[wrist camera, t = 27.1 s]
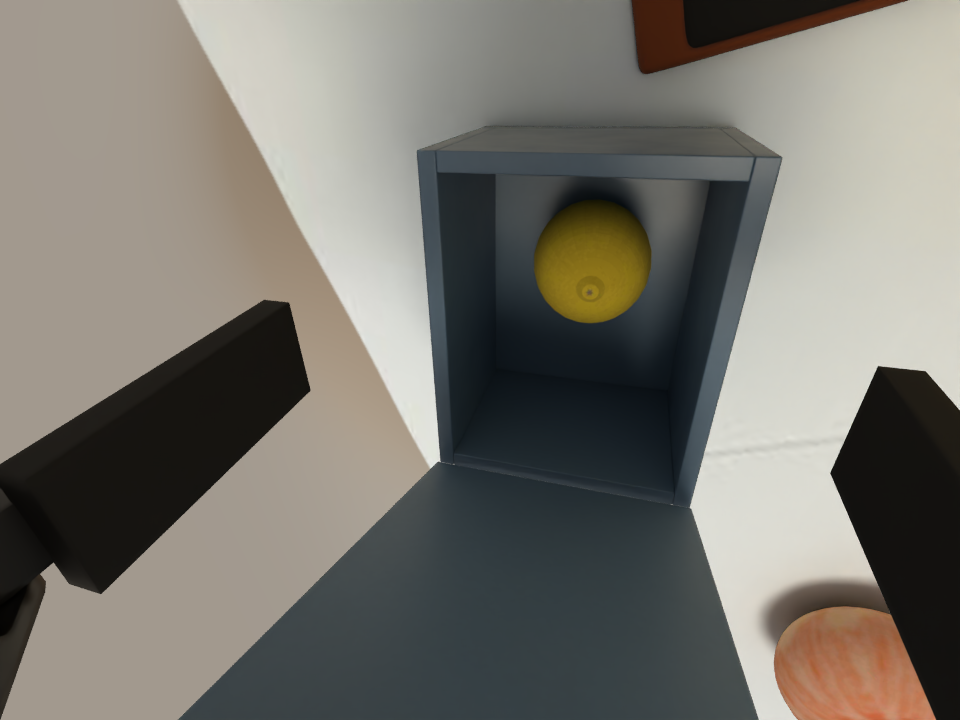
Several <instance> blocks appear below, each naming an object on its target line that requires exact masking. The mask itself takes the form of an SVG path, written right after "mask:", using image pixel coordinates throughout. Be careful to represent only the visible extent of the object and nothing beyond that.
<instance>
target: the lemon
mask: <svg viewBox="0 0 960 720" xmlns="http://www.w3.org/2000/svg"><path fill="white" fill-rule="evenodd" d="M651 255H652V251H651V246H650V242H649V239H648V235H647V233H646V231H645V229H644V228H643V226H642V224H641V223H640V221H639V220H638V219H637V218H636V217H635V216H634V215H633V214H632V213H631V212H630V211H629V210H628V209H626V208H624V207H622V206H620V205H618V204H616V203H614V202H610V201H605V200H584V201H581V202H578V203H574V204H571V205H570V206H568V207H566V208H565V209H563V210H561V211H560V212H558V213H557V214H556V215H555V216H554V217H553V218H552V219H551V220H550V221H549V222H548V223H547V225H546V226H545V228H544V230H543V231H542V233H541V235H540V236H539V239H538V242H537V246H536V249H535V253H534V273H535V277H536V281H537V285H538V288H539V290H540V292H541V294H542V295H543V297H544V299H545V301H546V302H547V303H548V304H549V305H550V306H551V307H552V308H553V309H554V310H555V311H556V312H558V313H559V314H561V315H562V316H564V317H565V318H568V319H571V320H573V321H576V322H582V323H598V322H604V321H607V320H610V319H613V318H615V317H617V316H619V315H620V314H622V313H623V312H625V311H627V310H628V309H629V308H630V307H631V306H632V305H633V304H634V303H635V302H636V301H637V300H638V298H639V297H640V295H641V293H642V292H643V290H644V288H645V286H646V284H647V281H648V277H649V274H650V270H651Z"/></svg>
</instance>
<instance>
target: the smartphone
mask: <svg viewBox="0 0 960 720" xmlns="http://www.w3.org/2000/svg"><path fill="white" fill-rule="evenodd" d="M904 1H908V0H632V7H633V17H634V26H635V36H636V46H637V55H638V63H639V68H640V70H641V72H642V73H643V74H650V73H654V72H658V71H662V70H665V69H669V68H673V67H676V66H680V65H683V64H687V63H691V62H694V61H698V60H701V59H705V58H708V57H712V56H715V55H719V54H722V53H726V52H729V51H733V50H736V49H740V48H743V47H747V46H750V45H754V44H757V43H761V42H764V41H768V40H771V39H775V38H778V37H782V36H785V35H789V34H792V33H796V32H799V31H803V30H806V29H810V28H813V27H817V26H820V25H824V24H827V23H831V22H834V21H838V20H841V19H845V18H848V17H852V16H855V15H859V14H862V13H866V12H869V11H873V10H876V9H880V8H883V7H887V6H890V5H894V4H897V3H901V2H904ZM698 47H699V48H698Z"/></svg>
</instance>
